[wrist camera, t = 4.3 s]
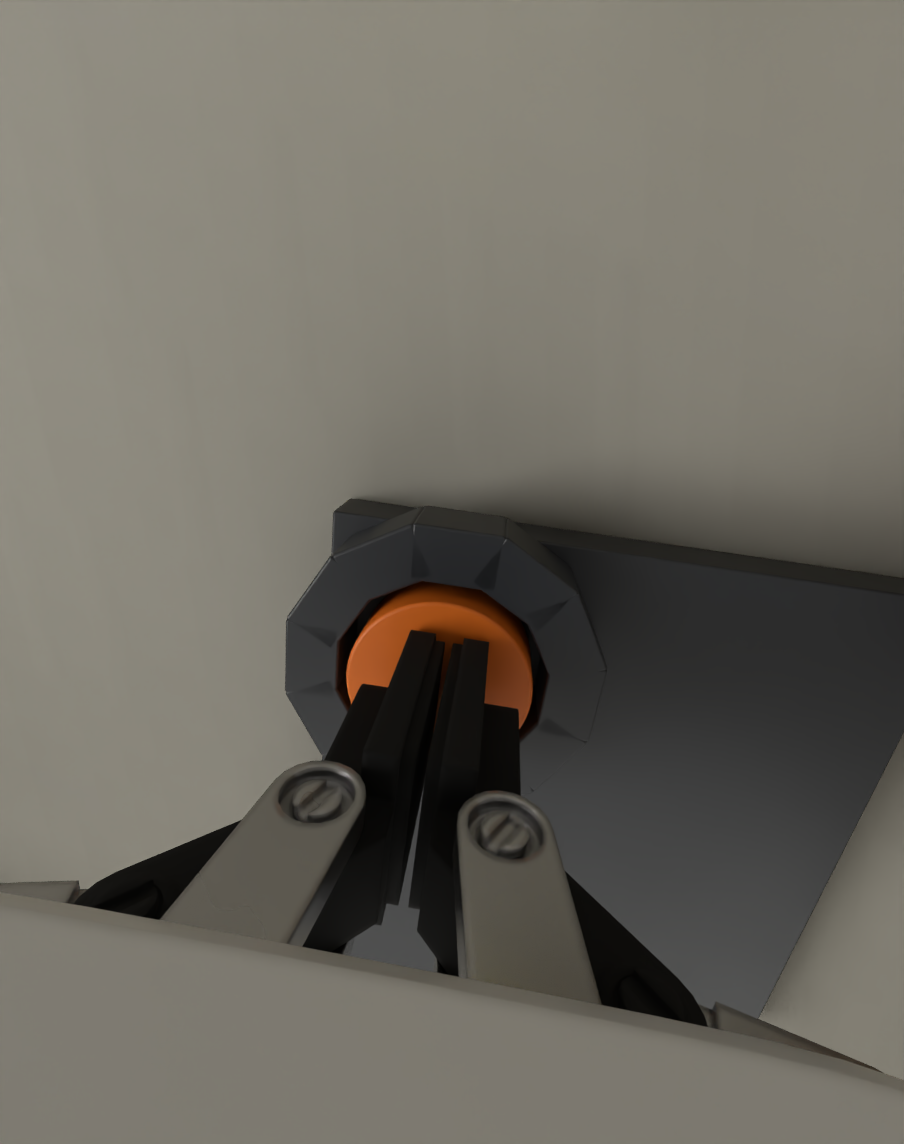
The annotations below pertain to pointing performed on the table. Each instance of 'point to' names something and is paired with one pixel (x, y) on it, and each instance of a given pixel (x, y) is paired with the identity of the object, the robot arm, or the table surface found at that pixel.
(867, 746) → the dark grey button base
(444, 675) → the button
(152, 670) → the table surface
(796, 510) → the table surface
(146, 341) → the table surface
